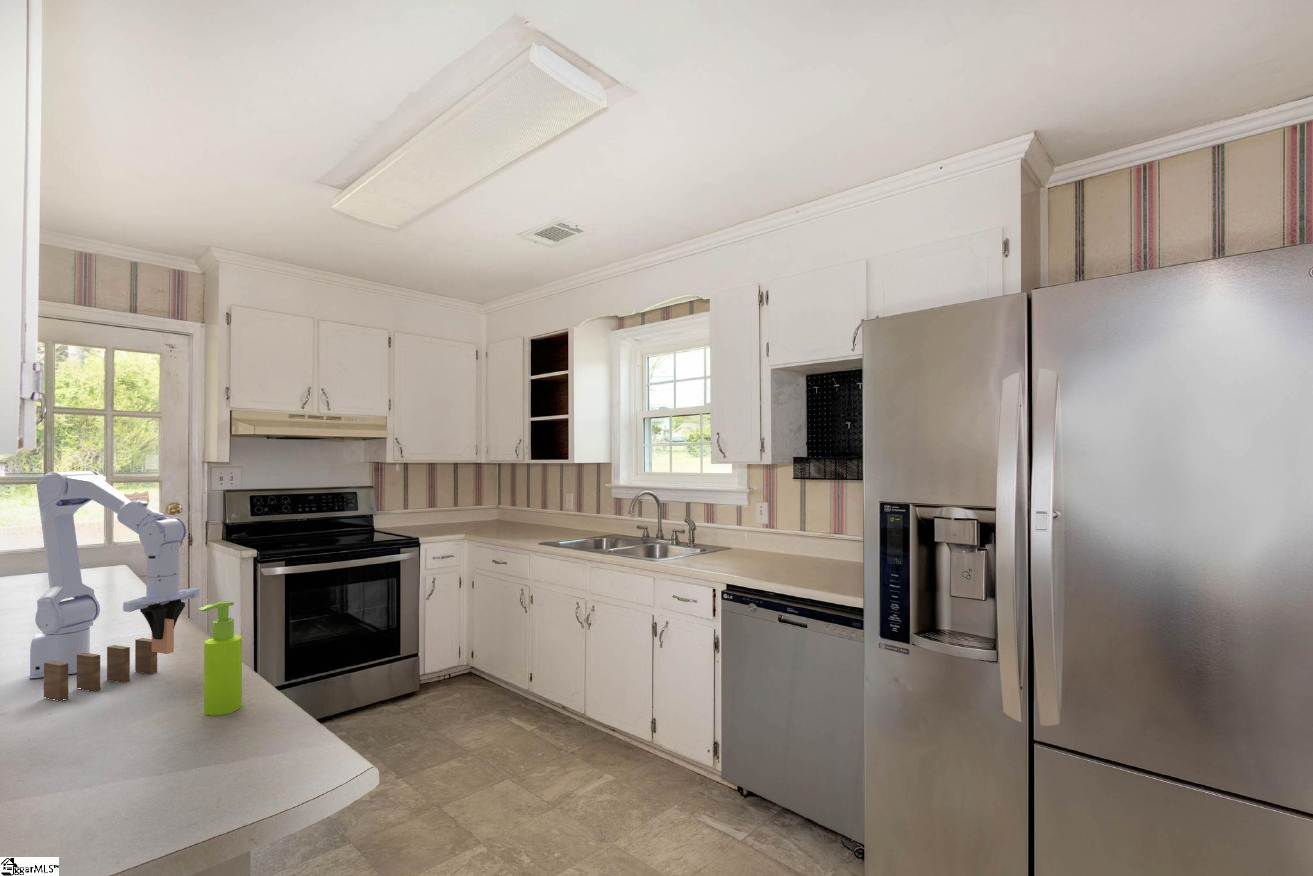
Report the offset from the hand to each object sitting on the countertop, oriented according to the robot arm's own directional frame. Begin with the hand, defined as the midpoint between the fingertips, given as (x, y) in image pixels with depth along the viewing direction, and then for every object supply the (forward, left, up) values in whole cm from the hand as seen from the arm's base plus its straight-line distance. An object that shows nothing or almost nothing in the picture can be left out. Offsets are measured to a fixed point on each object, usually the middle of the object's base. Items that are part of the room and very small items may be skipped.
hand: (162, 637), depth 143 cm
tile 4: (-12, -4, -8) cm, 15 cm away
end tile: (-15, -8, -8) cm, 19 cm away
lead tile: (0, 0, -3) cm, 3 cm away
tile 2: (-4, +4, -8) cm, 10 cm away
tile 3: (-8, 0, -8) cm, 11 cm away
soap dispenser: (+15, -29, -8) cm, 34 cm away
